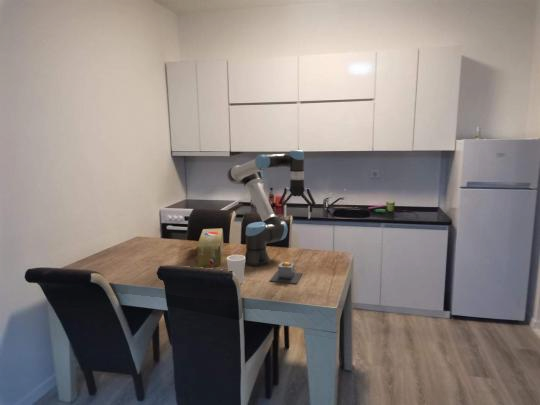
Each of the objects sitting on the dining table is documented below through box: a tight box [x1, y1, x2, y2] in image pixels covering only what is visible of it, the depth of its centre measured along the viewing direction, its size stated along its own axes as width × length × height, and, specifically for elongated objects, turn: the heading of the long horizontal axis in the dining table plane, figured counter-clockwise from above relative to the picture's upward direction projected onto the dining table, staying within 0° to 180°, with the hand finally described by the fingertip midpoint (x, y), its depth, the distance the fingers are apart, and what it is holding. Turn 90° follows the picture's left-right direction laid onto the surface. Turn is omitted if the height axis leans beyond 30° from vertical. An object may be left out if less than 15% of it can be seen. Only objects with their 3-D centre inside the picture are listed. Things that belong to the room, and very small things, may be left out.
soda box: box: [196, 228, 224, 268], centre depth 223 cm, size 40×14×13 cm, turn 5°
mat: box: [269, 270, 303, 285], centre depth 185 cm, size 14×14×1 cm
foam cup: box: [226, 254, 246, 285], centre depth 180 cm, size 10×9×13 cm
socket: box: [277, 261, 296, 279], centre depth 185 cm, size 7×7×6 cm
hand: (297, 217), depth 196 cm, fingers open, 13 cm apart
